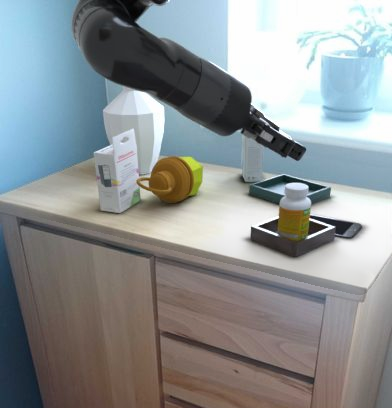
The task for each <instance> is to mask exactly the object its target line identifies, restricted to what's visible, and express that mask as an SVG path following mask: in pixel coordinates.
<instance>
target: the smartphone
mask: <svg viewBox="0 0 392 408" xmlns="http://www.w3.org/2000/svg"><path fill="white" fill-rule="evenodd" d="M310 219H313V220H316V221H319V222H322V223H325V224H328V225H331V226H334V227H336V230H335V238H336V237H337V238H340V239H341V238H342V239H346V240H350V239H353V238H354V237H356V235H357V234H358V233H359V232H360V231H361V230H362V228H363V225H362V224H361V223H359V222H354V221H350V220H349V221H348V220H343V219H338V218H332V217H329V216H328V217H327V216H321V215H317V214H312V213H310Z"/></svg>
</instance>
